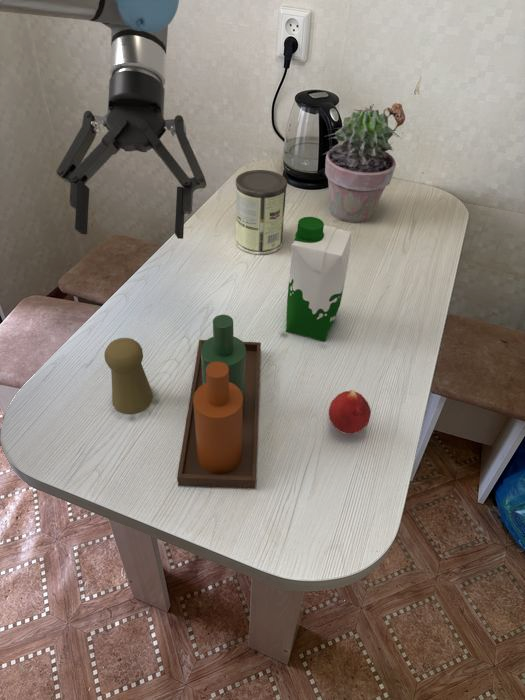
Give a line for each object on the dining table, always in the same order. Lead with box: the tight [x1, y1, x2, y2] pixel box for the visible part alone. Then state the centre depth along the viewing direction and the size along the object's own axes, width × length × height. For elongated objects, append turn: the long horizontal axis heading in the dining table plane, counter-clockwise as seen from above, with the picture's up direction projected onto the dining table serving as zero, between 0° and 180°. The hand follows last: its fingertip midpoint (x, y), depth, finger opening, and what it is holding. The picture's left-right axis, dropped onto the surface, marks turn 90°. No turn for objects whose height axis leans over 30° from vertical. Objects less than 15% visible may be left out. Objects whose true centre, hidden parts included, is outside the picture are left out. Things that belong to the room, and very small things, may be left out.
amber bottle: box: [193, 362, 243, 474], centre depth 63 cm, size 6×6×17 cm
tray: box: [176, 339, 262, 490], centre depth 75 cm, size 10×26×2 cm, turn 179°
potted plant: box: [315, 102, 406, 224], centre depth 113 cm, size 18×20×25 cm
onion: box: [328, 389, 372, 435], centre depth 71 cm, size 6×6×8 cm
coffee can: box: [235, 169, 288, 256], centre depth 105 cm, size 10×10×14 cm
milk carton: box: [285, 216, 352, 342], centre depth 84 cm, size 9×9×20 cm
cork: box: [104, 337, 154, 415], centre depth 73 cm, size 6×6×11 cm
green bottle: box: [201, 314, 246, 412], centre depth 69 cm, size 6×6×17 cm
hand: (130, 234), depth 70 cm, fingers open, 13 cm apart
